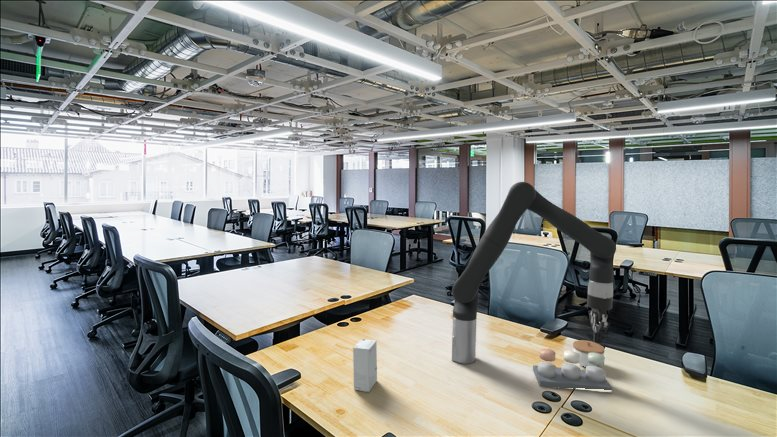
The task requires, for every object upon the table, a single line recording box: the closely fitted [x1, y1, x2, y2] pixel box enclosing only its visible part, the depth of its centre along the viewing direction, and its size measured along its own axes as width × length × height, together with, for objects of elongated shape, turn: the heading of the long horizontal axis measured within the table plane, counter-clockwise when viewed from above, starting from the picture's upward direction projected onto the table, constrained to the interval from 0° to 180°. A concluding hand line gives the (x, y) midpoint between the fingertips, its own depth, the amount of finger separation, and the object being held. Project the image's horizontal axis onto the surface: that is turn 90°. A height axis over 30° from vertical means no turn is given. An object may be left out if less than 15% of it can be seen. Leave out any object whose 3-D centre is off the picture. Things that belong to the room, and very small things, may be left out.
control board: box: [532, 361, 613, 391], centre depth 129 cm, size 23×11×5 cm, turn 80°
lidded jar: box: [572, 339, 605, 368], centre depth 141 cm, size 11×11×9 cm
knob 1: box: [539, 348, 556, 363], centre depth 130 cm, size 5×5×2 cm
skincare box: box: [352, 338, 378, 393], centre depth 126 cm, size 8×6×15 cm
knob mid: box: [563, 349, 580, 365], centre depth 129 cm, size 5×5×2 cm
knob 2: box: [588, 352, 606, 367], centre depth 127 cm, size 5×5×2 cm
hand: (597, 342), depth 127 cm, fingers closed
